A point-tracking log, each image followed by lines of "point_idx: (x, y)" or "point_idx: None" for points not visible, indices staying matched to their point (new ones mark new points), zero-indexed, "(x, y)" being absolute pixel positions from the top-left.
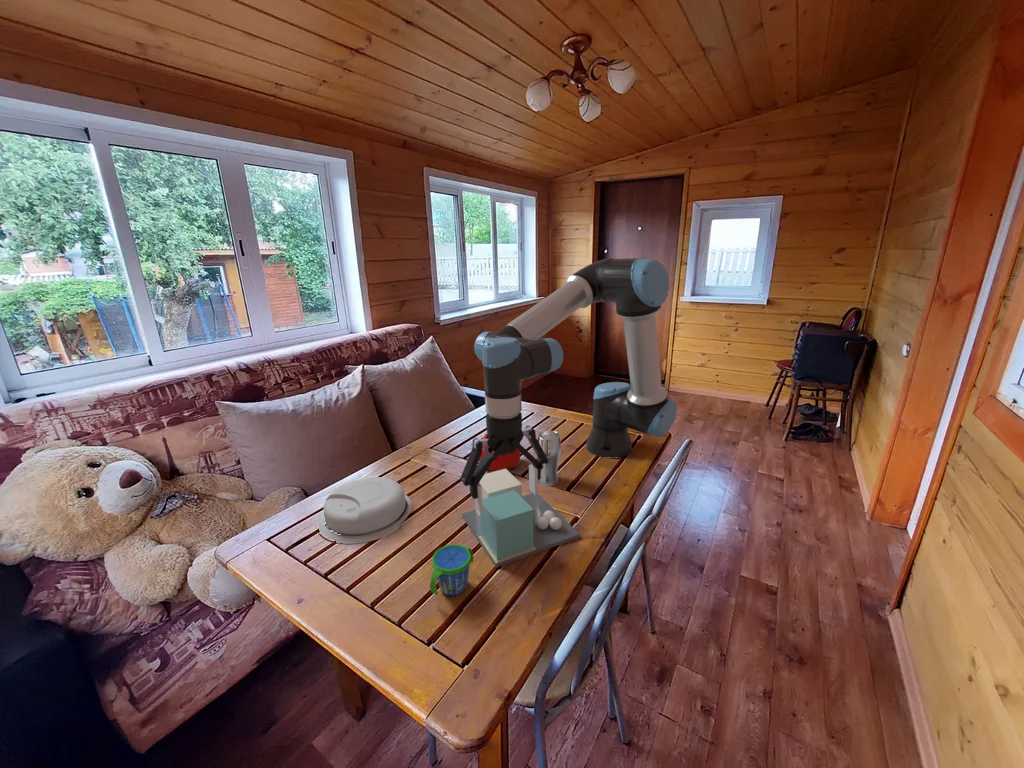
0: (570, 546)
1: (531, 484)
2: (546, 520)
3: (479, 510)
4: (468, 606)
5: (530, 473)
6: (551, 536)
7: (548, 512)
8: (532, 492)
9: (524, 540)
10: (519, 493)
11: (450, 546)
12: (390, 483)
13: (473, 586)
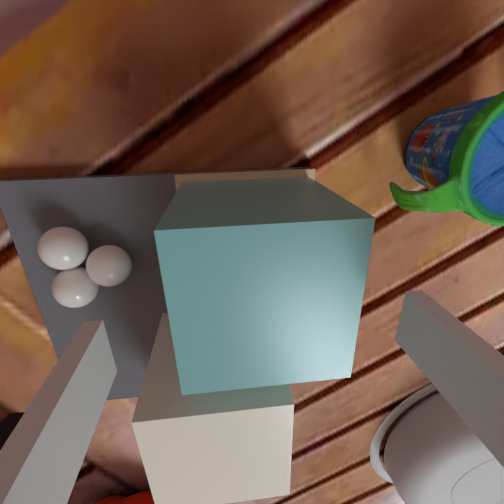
0: (51, 152)
1: (94, 392)
2: (92, 261)
3: (428, 299)
4: (445, 54)
5: (62, 481)
6: (100, 210)
7: (70, 294)
8: (108, 346)
9: (214, 188)
10: (152, 385)
11: (493, 216)
12: (430, 499)
13: (395, 124)
